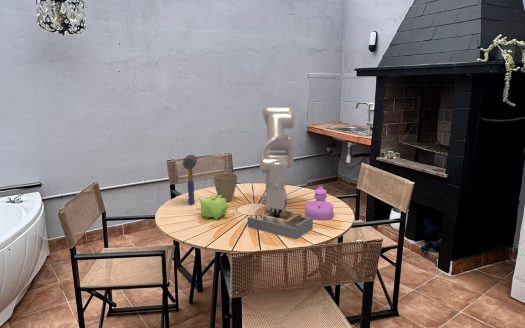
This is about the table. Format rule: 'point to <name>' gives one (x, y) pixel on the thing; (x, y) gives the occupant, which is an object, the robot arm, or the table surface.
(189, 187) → the rubber mallet
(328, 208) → the container set
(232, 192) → the plant pot
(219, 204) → the green lumpy block
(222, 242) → the table surface
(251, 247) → the table surface
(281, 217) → the crate
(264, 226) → the tray
